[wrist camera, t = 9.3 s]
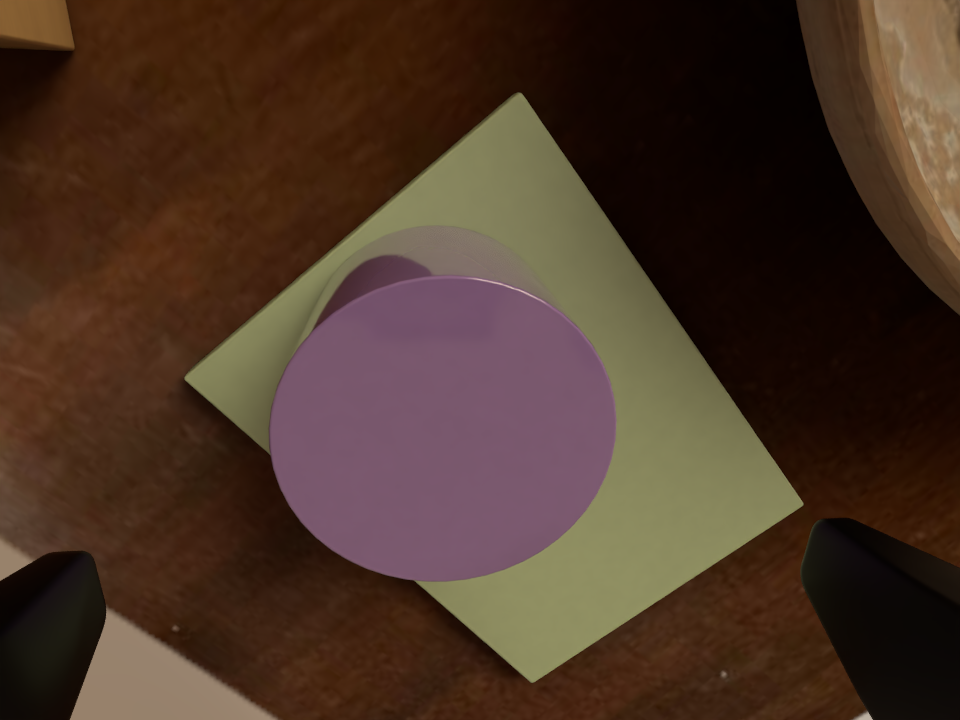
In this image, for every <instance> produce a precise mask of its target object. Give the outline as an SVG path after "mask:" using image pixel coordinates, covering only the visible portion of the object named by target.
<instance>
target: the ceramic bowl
mask: <svg viewBox="0 0 960 720" xmlns="http://www.w3.org/2000/svg"><path fill="white" fill-rule="evenodd" d="M796 3H797V9H798V14H799V20H800V25H801V30H802V35H803V39H804V44H805V48H806V53H807V57H808V62H809V66H810V71H811V75H812V79H813V83H814V86H815V89H816V92H817V95H818V98H819V101H820V104H821V108H822V111H823V114H824V117H825V120H826V123H827V126H828V129H829V132H830V134H831V136H832V138H833V141H834V143H835V145H836V147H837V149H838V152H839V154H840V156H841V158H842V160H843V163H844V165H845V167H846V169H847V172H848V174H849V176H850V178H851V180H852V182H853V184H854V186H855V188H856V190H857V192H858V193H859V195H860V197H861V199H862V200H863V202H864V204H865V205H866V207H867V209H868V211H869V212H870V214H871V216H872V218H873V219H874V221H875V223H876V224H877V226H878V227H879V228H880V230H881V231H882V232H883V234H884V235H885V237H886V238H887V239H888V241H889V242H890V243H891V245H892V246H893V247H894V249H895V250H896V252H897V253H898V254H899V256H900V257H901V258H902V259H903V260H904V262H905V263H906V264H907V265H908V266H909V267H910V268H911V269H912V270H913V271H914V273H915V274H916V275H917V276H918V277H919V278H920V279H921V280H922V281H923V282H924V283H925V285H926V286H927V287H928V288H929V289H930V290H932V291H933V292H934V293H935V294H936V295H937V296H938V297H939V298H941V299H942V300H943V301H944V302H945V303H946V304H947V305H949V306H950V307H951V308H952V309H953V310H954V311H955V312H956V313H958V314H959V315H960V0H796Z"/></svg>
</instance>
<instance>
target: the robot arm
mask: <svg viewBox="0 0 960 720" xmlns="http://www.w3.org/2000/svg"><path fill="white" fill-rule="evenodd" d="M801 581H802V584H803V587H804V589H805V592H806V593H807V595H808V597H809V599H810V601H811V603H812V605H813V607H814V609H815V611H816V613H817V615H818V617H819V619H820V621H821V623H822V625H823V627H824V629H825V631H826V633H827V635H828V637H829V639H830V641H831V643H832V645H833V647H834V649H835V651H836V653H837V655H838V657H839V658H840V660H841V662H842V664H843V666H844V668H845V670H846V672H847V674H848V676H849V678H850V680H851V682H852V684H853V686H854V688H855V689H856V691H857V693H858V695H859V697H860V699H861V700H862V702H863V704H864V705H865V707H866V709H867V711H868V712H869V714H870V716H871V717H872V719H873V720H960V568H959V567H956V566H954V565H952V564H950V563H948V562H945V561H943V560H941V559H939V558H937V557H935V556H932V555H930V554H928V553H926V552H924V551H921V550H919V549H917V548H915V547H913V546H910V545H908V544H906V543H904V542H902V541H899V540H897V539H895V538H893V537H891V536H889V535H886V534H884V533H882V532H880V531H878V530H875V529H873V528H871V527H869V526H867V525H864V524H862V523H860V522H858V521H856V520H853V519H850V518H830V519H821V520H819V521H817V522H816V523H815V524H814V525H813V528H812V530H811V534H810V537H809V541H808V544H807V547H806V551H805V554H804V558H803V561H802V565H801ZM105 619H106V604H105V599H104V595H103V592H102V588H101V584H100V580H99V576H98V572H97V568H96V564H95V561H94V559H93V557H92V556H91V554H90V553H88V552H85V551H65V552H52V553H48V554H46V555H44V556H42V557H40V558H38V559H37V560H35V561H33V562H32V563H30V564H28V565H27V566H25V567H23V568H21V569H20V570H18V571H16V572H15V573H13V574H11V575H10V576H8V577H6V578H5V579H3V580H1V581H0V720H70V718H71V715H72V712H73V709H74V707H75V704H76V701H77V699H78V696H79V693H80V690H81V688H82V685H83V682H84V679H85V677H86V674H87V671H88V668H89V666H90V663H91V660H92V658H93V655H94V652H95V649H96V646H97V644H98V641H99V639H100V636H101V633H102V630H103V627H104V624H105Z"/></svg>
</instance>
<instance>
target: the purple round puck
mask: <svg viewBox="0 0 960 720" xmlns="http://www.w3.org/2000/svg"><path fill="white" fill-rule="evenodd" d="M616 425H617V417H616V406H615V398H614V394H613V390H612V386H611V381H610V379H609V376H608V374H607V371H606V369H605V367H604V364H603V362H602V360H601V358H600V357H599V355H598V353H597V352H596V350H595V348H594V347H593V345H592V344H591V342H590V341H589V340H588V338H587V337H586V336H585V335H584V333H583V332H582V331H581V329H580V328H579V327H578V326H577V324H576V323H575V322H574V321H573V319H572V318H571V317H570V315H569V314H568V313H567V312H566V310H565V309H564V308H563V306H562V305H561V304H560V303H559V301H558V300H557V299H556V298H555V296H554V295H553V294H552V292H551V291H550V290H549V289H548V287H547V286H546V285H545V284H544V282H543V281H542V280H541V278H540V277H539V276H538V275H537V273H536V272H535V271H534V270H533V268H532V267H531V266H530V265H529V264H528V263H527V262H526V261H525V260H524V259H523V258H522V257H521V256H520V255H518V254H517V253H516V252H514V251H513V250H512V249H510V248H509V247H507V246H506V245H505V244H503V243H501V242H499V241H497V240H495V239H493V238H491V237H489V236H487V235H484V234H481V233H478V232H476V231H473V230H468V229H464V228H459V227H452V226H440V225H435V226H419V227H413V228H408V229H403V230H400V231H396V232H393V233H390V234H387V235H385V236H383V237H381V238H378V239H376V240H374V241H372V242H370V243H369V244H367V245H366V246H364V247H363V248H361V249H360V250H358V251H356V252H355V253H354V254H353V255H352V256H350V257H349V258H348V259H347V260H346V261H345V262H344V263H343V264H342V265H341V266H340V267H339V268H338V269H337V270H336V272H335V273H334V274H333V275H332V276H331V278H330V279H329V281H328V282H327V284H326V285H325V287H324V289H323V290H322V292H321V294H320V296H319V298H318V300H317V302H316V305H315V307H314V309H313V311H312V313H311V315H310V317H309V319H308V321H307V323H306V326H305V328H304V330H303V332H302V334H301V336H300V338H299V340H298V342H297V344H296V347H295V349H294V351H293V353H292V355H291V357H290V359H289V361H288V363H287V365H286V368H285V370H284V372H283V374H282V376H281V379H280V381H279V383H278V385H277V388H276V392H275V395H274V399H273V402H272V406H271V413H270V421H269V450H270V455H271V460H272V466H273V470H274V473H275V476H276V478H277V481H278V484H279V487H280V489H281V491H282V493H283V495H284V497H285V499H286V501H287V503H288V504H289V506H290V508H291V509H292V510H293V512H294V513H295V515H296V516H297V517H298V519H299V520H300V522H301V523H302V524H303V525H304V526H305V527H306V528H307V529H308V530H309V531H310V532H311V533H312V534H313V535H314V536H315V537H316V538H317V539H318V540H319V541H321V542H322V543H323V544H324V545H326V546H327V547H328V548H329V549H331V550H332V551H334V552H335V553H337V554H339V555H340V556H342V557H343V558H345V559H347V560H348V561H351V562H353V563H355V564H357V565H359V566H361V567H364V568H366V569H368V570H371V571H374V572H377V573H380V574H383V575H387V576H392V577H396V578H401V579H406V580H416V581H425V582H447V581H456V580H466V579H471V578H476V577H481V576H485V575H489V574H492V573H495V572H498V571H501V570H505V569H507V568H510V567H512V566H514V565H516V564H519V563H521V562H523V561H525V560H527V559H529V558H531V557H532V556H534V555H536V554H538V553H539V552H541V551H543V550H544V549H545V548H547V547H548V546H549V545H551V544H552V543H554V542H555V541H556V540H558V539H559V538H560V537H561V536H562V535H563V534H564V533H566V532H567V531H568V530H569V529H570V528H571V527H572V526H573V525H574V524H575V523H576V522H577V520H578V519H579V518H580V517H581V516H582V515H583V514H584V512H585V511H586V510H587V508H588V507H589V505H590V504H591V502H592V501H593V499H594V498H595V496H596V495H597V493H598V491H599V489H600V487H601V485H602V483H603V481H604V479H605V477H606V474H607V471H608V468H609V465H610V463H611V460H612V455H613V450H614V445H615V440H616Z"/></svg>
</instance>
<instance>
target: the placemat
mask: <svg viewBox="0 0 960 720" xmlns="http://www.w3.org/2000/svg"><path fill="white" fill-rule="evenodd" d="M435 225H440V226H452V227H459V228H464V229H468V230H473V231H476V232H478V233H481V234H484V235H487V236H489V237H491V238H493V239H495V240H497V241H499V242H501V243H503V244H505V245H506V246H507V247H509V248H510V249H512V250H513V251H514V252H516V253H517V254H518V255H520V256H521V257H522V258H523V259H524V260H525V261H526V262H527V263H528V264H529V265H530V266H531V267H532V268H533V270H534V271H535V272H536V273H537V275H538V276H539V277H540V278H541V280H542V281H543V282H544V284H545V285H546V286H547V287H548V289H549V290H550V291H551V292H552V294H553V295H554V296H555V298H556V299H557V300H558V301H559V303H560V304H561V305H562V306H563V308H564V309H565V310H566V312H567V313H568V314H569V315H570V317H571V318H572V319H573V321H574V322H575V323H576V324H577V326H578V327H579V328H580V329H581V331H582V332H583V333H584V335H585V336H586V337H587V338H588V340H589V341H590V342H591V344H592V345H593V347H594V348H595V350H596V352H597V353H598V355H599V357H600V358H601V360H602V362H603V364H604V367H605V369H606V371H607V374H608V376H609V379H610V381H611V386H612V390H613V394H614V398H615V406H616V417H617V425H616V440H615V445H614V450H613V455H612V460H611V463H610V465H609V468H608V471H607V474H606V477H605V479H604V481H603V483H602V485H601V487H600V489H599V491H598V493H597V495H596V496H595V498H594V499H593V501H592V502H591V504H590V505H589V507H588V508H587V510H586V511H585V512H584V514H583V515H582V516H581V517H580V518H579V519H578V520H577V522H576V523H575V524H574V525H573V526H572V527H571V528H570V529H569V530H568V531H567V532H566V533H564V534H563V535H562V536H561V537H560V538H559V539H558V540H556V541H555V542H554V543H552V544H551V545H549V546H548V547H547V548H545V549H544V550H543V551H541V552H539V553H538V554H536V555H534V556H532V557H531V558H529V559H527V560H525V561H523V562H521V563H519V564H516V565H514V566H512V567H510V568H507V569H505V570H501V571H498V572H495V573H492V574H489V575H485V576H481V577H476V578H471V579H466V580H456V581H447V582H425V581H416V580H414V581H415V582H416V583H417V584H419V585H420V586H421V587H422V588H423V589H424V590H425V591H427V592H428V593H429V594H430V595H431V596H432V597H433V598H435V599H436V600H437V601H438V602H439V603H440V604H441V605H443V606H444V607H445V608H446V609H447V610H448V611H450V612H451V613H452V614H453V615H454V616H455V617H456V618H458V619H459V620H460V621H461V622H462V623H463V624H464V625H466V626H467V627H468V628H469V629H470V630H471V631H472V632H474V633H475V634H476V635H477V636H478V637H479V638H480V639H482V640H483V641H484V642H485V643H486V644H487V645H488V646H490V647H491V648H492V649H493V650H494V651H495V652H496V653H498V654H499V655H500V656H501V657H502V658H503V659H504V660H506V661H507V662H508V663H509V664H510V665H511V666H512V667H514V668H515V669H516V670H517V671H518V672H519V673H520V674H522V675H523V676H524V677H525V678H526V679H527V680H528V681H530V682H531V683H534V682H535V681H537V680H538V679H540V678H541V677H543V676H544V675H546V674H547V673H549V672H550V671H552V670H553V669H555V668H556V667H558V666H559V665H561V664H562V663H564V662H566V661H567V660H569V659H570V658H572V657H573V656H575V655H576V654H578V653H579V652H581V651H582V650H584V649H585V648H587V647H588V646H590V645H591V644H593V643H594V642H596V641H598V640H599V639H601V638H602V637H604V636H605V635H607V634H608V633H610V632H611V631H613V630H614V629H616V628H617V627H619V626H620V625H622V624H623V623H625V622H626V621H628V620H630V619H631V618H633V617H634V616H636V615H637V614H639V613H640V612H642V611H643V610H645V609H646V608H648V607H649V606H651V605H652V604H654V603H655V602H657V601H658V600H660V599H662V598H663V597H665V596H666V595H668V594H669V593H671V592H672V591H674V590H675V589H677V588H678V587H680V586H681V585H683V584H684V583H686V582H687V581H689V580H690V579H692V578H694V577H695V576H697V575H698V574H700V573H701V572H703V571H704V570H706V569H707V568H709V567H710V566H712V565H713V564H715V563H716V562H718V561H719V560H721V559H722V558H724V557H726V556H727V555H729V554H730V553H732V552H733V551H735V550H736V549H738V548H739V547H741V546H742V545H744V544H745V543H747V542H748V541H750V540H751V539H753V538H754V537H756V536H758V535H759V534H761V533H762V532H764V531H765V530H767V529H768V528H770V527H771V526H773V525H774V524H776V523H777V522H779V521H780V520H782V519H783V518H785V517H786V516H788V515H790V514H791V513H793V512H794V511H796V510H797V509H799V508H800V507H802V506H803V502H802V501H801V499H800V498H799V496H798V495H797V493H796V492H795V490H794V489H793V487H792V486H791V484H790V483H789V482H788V480H787V479H786V477H785V476H784V474H783V473H782V471H781V470H780V468H779V467H778V466H777V464H776V463H775V461H774V460H773V458H772V457H771V455H770V454H769V452H768V451H767V450H766V448H765V447H764V445H763V444H762V442H761V441H760V439H759V438H758V436H757V435H756V434H755V432H754V431H753V429H752V428H751V426H750V425H749V423H748V422H747V420H746V419H745V418H744V416H743V415H742V413H741V412H740V410H739V409H738V407H737V406H736V404H735V403H734V401H733V400H732V399H731V397H730V396H729V394H728V393H727V391H726V390H725V388H724V387H723V385H722V384H721V383H720V381H719V380H718V378H717V377H716V375H715V374H714V372H713V371H712V369H711V368H710V367H709V365H708V364H707V362H706V361H705V359H704V358H703V356H702V355H701V353H700V352H699V351H698V349H697V348H696V346H695V345H694V343H693V342H692V340H691V339H690V337H689V336H688V335H687V333H686V332H685V330H684V329H683V327H682V326H681V324H680V323H679V321H678V320H677V318H676V317H675V316H674V314H673V313H672V311H671V310H670V308H669V307H668V305H667V304H666V302H665V301H664V300H663V298H662V297H661V295H660V294H659V292H658V291H657V289H656V288H655V286H654V285H653V284H652V282H651V281H650V279H649V278H648V276H647V275H646V273H645V272H644V270H643V269H642V268H641V266H640V265H639V263H638V262H637V260H636V259H635V257H634V256H633V254H632V253H631V252H630V250H629V249H628V247H627V246H626V244H625V243H624V241H623V240H622V238H621V237H620V235H619V234H618V233H617V231H616V230H615V228H614V227H613V225H612V224H611V222H610V221H609V219H608V218H607V217H606V215H605V214H604V212H603V211H602V209H601V208H600V206H599V205H598V203H597V202H596V201H595V199H594V198H593V196H592V195H591V193H590V192H589V190H588V189H587V187H586V186H585V185H584V183H583V182H582V180H581V179H580V177H579V176H578V174H577V173H576V171H575V170H574V169H573V167H572V166H571V164H570V163H569V161H568V160H567V158H566V157H565V155H564V154H563V152H562V151H561V150H560V148H559V147H558V145H557V144H556V142H555V141H554V139H553V138H552V136H551V135H550V134H549V132H548V131H547V129H546V128H545V126H544V125H543V123H542V122H541V120H540V119H539V118H538V116H537V115H536V113H535V112H534V110H533V109H532V107H531V106H530V104H529V103H528V102H527V100H526V99H525V97H524V96H523V94H522V93H515V94H513V95H512V96H511V97H510V98H508V99H507V100H506V101H505V102H504V103H502V104H501V105H500V106H499V107H498V108H497V109H495V110H494V111H493V112H492V113H491V114H490V115H488V116H487V117H486V118H485V119H484V120H482V121H481V122H480V123H479V124H478V125H477V126H475V127H474V128H473V129H472V130H471V131H470V132H468V133H467V134H466V135H465V136H464V137H463V138H461V139H460V140H459V141H458V142H457V143H455V144H454V145H453V146H452V147H451V148H450V149H448V150H447V151H446V152H445V153H444V154H443V155H441V156H440V157H439V158H438V159H437V160H435V161H434V162H433V163H432V164H431V165H430V166H428V167H427V168H426V169H425V170H424V171H423V172H421V173H420V174H419V175H418V176H417V177H416V178H414V179H413V180H412V181H411V182H410V183H408V184H407V185H406V186H405V187H404V188H403V189H401V190H400V191H399V192H398V193H397V194H396V195H394V196H393V197H392V198H391V199H390V200H389V201H387V202H386V203H385V204H384V205H383V206H381V207H380V208H379V209H378V210H377V211H376V212H374V213H373V214H372V215H371V216H370V217H369V218H367V219H366V220H365V221H364V222H363V223H361V224H360V225H359V226H358V227H357V228H356V229H354V230H353V231H352V232H351V233H350V234H349V235H347V236H346V237H345V238H344V239H343V240H342V241H340V242H339V243H338V244H337V245H336V246H334V247H333V248H332V249H331V250H330V251H329V252H327V253H326V254H325V255H324V256H323V257H322V258H320V259H319V260H318V261H317V262H316V263H315V264H313V265H312V266H311V267H310V268H309V269H307V270H306V271H305V272H304V273H303V274H302V275H300V276H299V277H298V278H297V279H296V280H295V281H293V282H292V283H291V284H290V285H289V286H287V287H286V288H285V289H284V290H283V291H282V292H280V293H279V294H278V295H277V296H276V297H275V298H273V299H272V300H271V301H270V302H269V303H268V304H266V305H265V306H264V307H263V308H262V309H260V310H259V311H258V312H257V313H256V314H255V315H253V316H252V317H251V318H250V319H249V320H248V321H246V322H245V323H244V324H243V325H242V326H240V327H239V328H238V329H237V330H236V331H235V332H233V333H232V334H231V335H230V336H229V337H228V338H226V339H225V340H224V341H223V342H222V343H221V344H219V345H218V346H217V347H216V348H215V349H213V350H212V351H211V352H210V353H209V354H208V355H206V356H205V357H204V358H203V359H202V360H201V361H199V362H198V363H197V364H196V365H195V366H194V367H192V368H191V369H190V371H189V372H188V373H187V374H186V375H185V377H184V379H185V381H186V382H188V383H189V384H190V385H191V386H192V387H193V388H194V389H196V390H197V391H198V392H199V393H200V394H201V395H202V396H204V397H205V398H206V399H207V400H208V401H209V402H210V403H212V404H213V405H214V406H215V407H216V408H217V409H218V410H220V411H221V412H222V413H223V414H224V415H225V416H226V417H228V418H229V419H230V420H231V421H232V422H233V423H234V424H236V425H237V426H238V427H239V428H240V429H241V430H242V431H244V432H245V433H246V434H247V435H248V436H249V437H250V438H252V439H253V440H254V441H255V442H256V443H257V444H258V445H260V446H261V447H262V448H263V449H264V450H265V451H266V452H268V453H269V454H270V450H269V421H270V413H271V406H272V402H273V399H274V395H275V392H276V388H277V385H278V383H279V381H280V379H281V376H282V374H283V372H284V370H285V368H286V365H287V363H288V361H289V359H290V357H291V355H292V353H293V351H294V349H295V347H296V344H297V342H298V340H299V338H300V336H301V334H302V332H303V330H304V328H305V326H306V323H307V321H308V319H309V317H310V315H311V313H312V311H313V309H314V307H315V305H316V302H317V300H318V298H319V296H320V294H321V292H322V290H323V289H324V287H325V285H326V284H327V282H328V281H329V279H330V278H331V276H332V275H333V274H334V273H335V272H336V270H337V269H338V268H339V267H340V266H341V265H342V264H343V263H344V262H345V261H346V260H347V259H348V258H349V257H350V256H352V255H353V254H354V253H355V252H356V251H358V250H360V249H361V248H363V247H364V246H366V245H367V244H369V243H370V242H372V241H374V240H376V239H378V238H381V237H383V236H385V235H387V234H390V233H393V232H396V231H400V230H403V229H408V228H413V227H419V226H435Z"/></svg>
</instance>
